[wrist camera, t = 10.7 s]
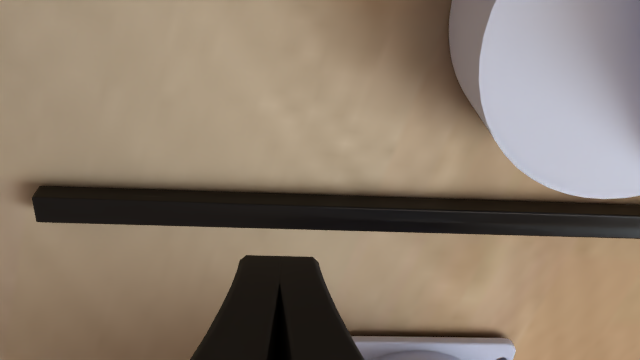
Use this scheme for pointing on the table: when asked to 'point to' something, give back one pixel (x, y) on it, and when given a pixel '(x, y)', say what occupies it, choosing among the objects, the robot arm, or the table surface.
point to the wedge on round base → (556, 87)
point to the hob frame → (333, 212)
